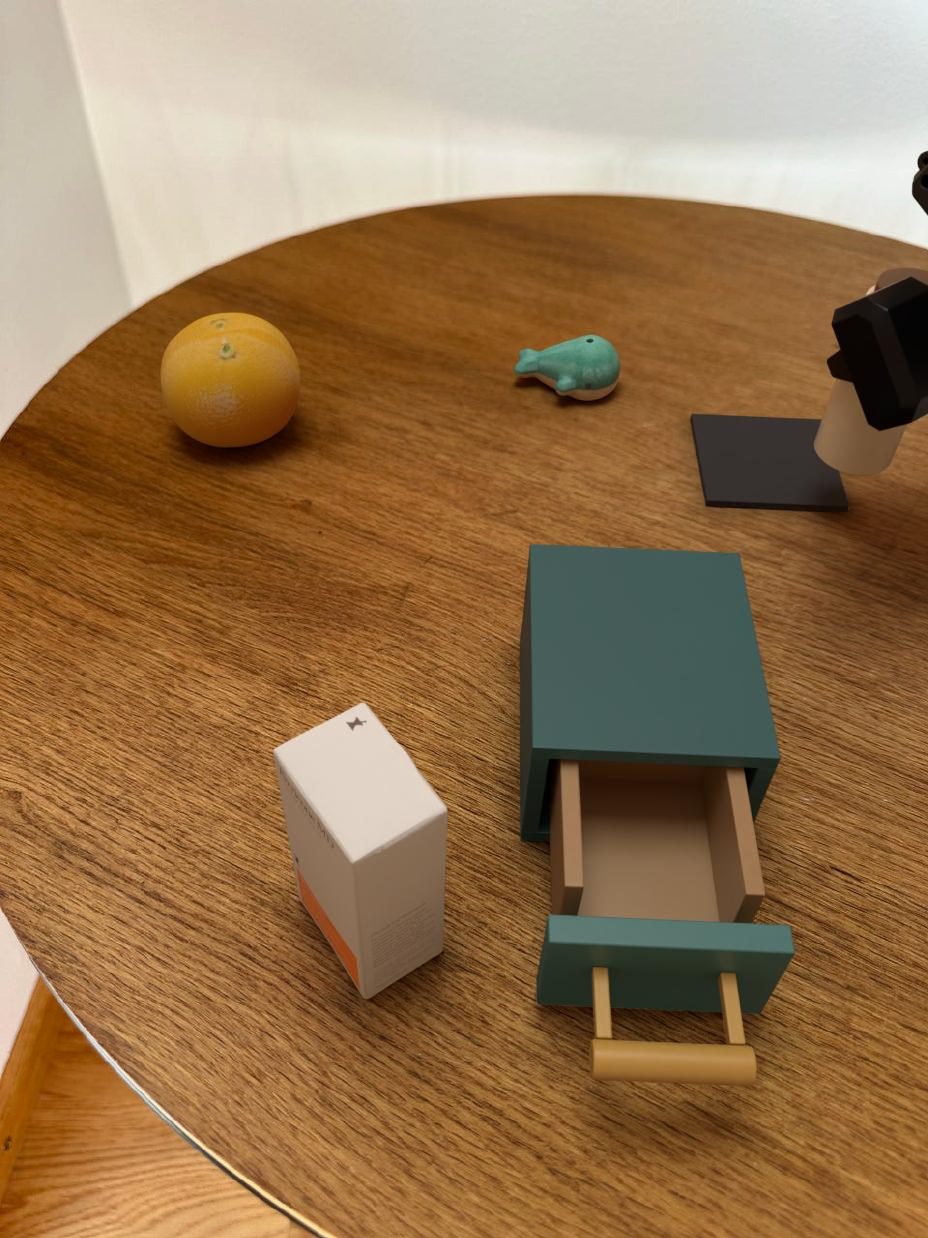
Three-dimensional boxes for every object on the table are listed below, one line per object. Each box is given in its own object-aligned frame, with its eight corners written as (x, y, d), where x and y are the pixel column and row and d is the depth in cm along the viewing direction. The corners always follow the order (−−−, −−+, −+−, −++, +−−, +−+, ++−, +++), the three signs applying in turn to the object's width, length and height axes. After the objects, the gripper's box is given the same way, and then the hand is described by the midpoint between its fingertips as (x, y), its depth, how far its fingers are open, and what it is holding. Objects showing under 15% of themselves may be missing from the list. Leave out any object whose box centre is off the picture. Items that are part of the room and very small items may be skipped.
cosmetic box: (295, 900, 49) (267, 745, 40) (375, 853, 51) (365, 695, 42) (364, 1008, 46) (351, 865, 37) (447, 954, 47) (453, 806, 39)
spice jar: (907, 459, 64) (980, 295, 56) (854, 485, 63) (921, 319, 54) (850, 418, 67) (911, 255, 59) (797, 442, 65) (853, 277, 57)
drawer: (777, 1121, 42) (817, 1066, 38) (537, 1110, 42) (551, 1054, 38) (724, 784, 53) (751, 712, 49) (533, 776, 53) (543, 703, 49)
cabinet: (742, 851, 51) (781, 758, 46) (520, 841, 51) (532, 747, 46) (710, 651, 60) (739, 552, 54) (519, 642, 60) (529, 543, 54)
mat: (820, 424, 74) (822, 418, 74) (847, 512, 68) (849, 506, 68) (690, 418, 74) (691, 413, 74) (705, 505, 68) (707, 499, 68)
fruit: (189, 483, 68) (167, 377, 62) (159, 411, 73) (136, 306, 67) (321, 450, 71) (313, 345, 65) (284, 383, 76) (272, 279, 70)
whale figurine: (610, 416, 74) (617, 369, 71) (506, 398, 75) (509, 351, 72) (622, 369, 78) (629, 323, 75) (523, 352, 79) (527, 306, 76)
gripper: (1188, 36, 50) (914, 176, 64) (938, 128, 42) (689, 265, 56) (1258, 264, 52) (976, 352, 66) (1029, 394, 44) (765, 463, 58)
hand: (859, 353), depth 61 cm, fingers closed on spice jar, 4 cm apart
